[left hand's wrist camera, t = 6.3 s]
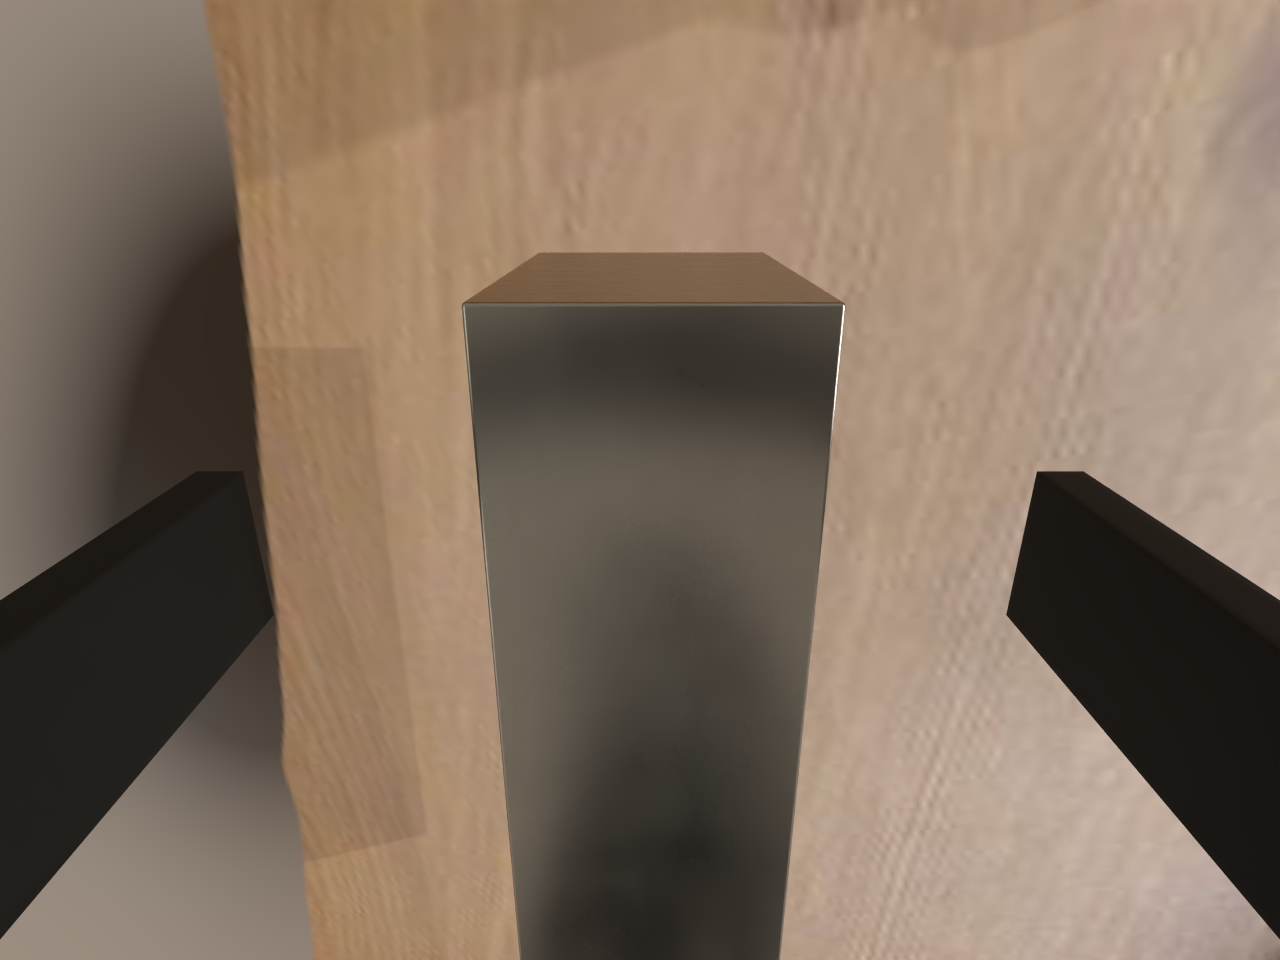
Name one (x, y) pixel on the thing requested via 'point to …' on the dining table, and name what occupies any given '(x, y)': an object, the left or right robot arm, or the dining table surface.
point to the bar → (651, 588)
